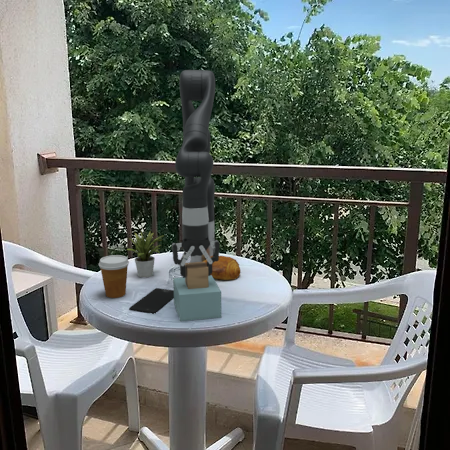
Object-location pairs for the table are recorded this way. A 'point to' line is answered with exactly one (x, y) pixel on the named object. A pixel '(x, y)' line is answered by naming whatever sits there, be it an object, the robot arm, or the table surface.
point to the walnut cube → (196, 275)
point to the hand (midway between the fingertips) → (196, 275)
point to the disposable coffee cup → (114, 275)
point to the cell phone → (153, 301)
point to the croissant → (225, 268)
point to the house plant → (145, 255)
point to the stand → (197, 300)
